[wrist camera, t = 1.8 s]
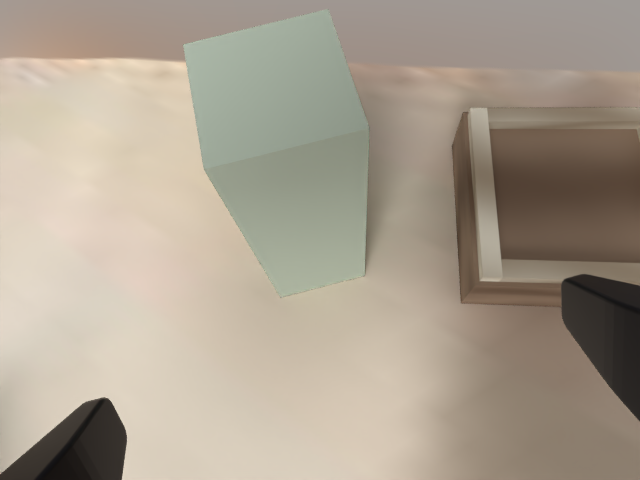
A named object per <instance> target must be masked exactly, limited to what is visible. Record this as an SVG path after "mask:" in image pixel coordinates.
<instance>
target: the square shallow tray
mask: <svg viewBox="0 0 640 480" xmlns="http://www.w3.org/2000/svg"><path fill="white" fill-rule="evenodd" d="M452 153H453V170H454V188H455V206H456V223H457V241H458V259H459V276H460V294H461V303H470V304H498V305H525V306H553V307H561V284H562V281H563V280H564V279H565V278H568V277H572V276H576V275H580V274H589V275H593V276H598V277H603V278H607V279H612V280H617V281H621V282H626V283H631V284H635V285H640V107H582V108H470V110H469V112H463V114H462V117H461V120H460V123H459V127H458V130H457V133H456V136H455V139H454V142H453V145H452Z"/></svg>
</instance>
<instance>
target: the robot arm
mask: <svg viewBox="0 0 640 480" xmlns="http://www.w3.org/2000/svg"><path fill="white" fill-rule="evenodd" d="M561 309H562V319H563V322H564V324H565V326H566V327H567V329H568V330H569V332H570V333H571V335H572V336H573V337H574V339H575V340H576V341H577V343H578V344H579V346H580V347H581V348H582V350H583V351H584V352H585V354H586V355H587V357H588V358H589V359H590V361H591V362H592V364H593V365H594V366H595V368H596V369H597V370H598V372H599V373H600V375H601V376H602V377H603V379H604V380H605V381H606V383H607V384H608V385H609V387H610V388H611V389H612V390H613V391H614V393H615V394H616V395H617V396H618V397H619V399H620V400H621V401H622V402H623V403H624V404H625V405H626V406H627V408H628V409H629V410H630V411H631V412H632V413H633V414H634V415H635V416H636V418H637V419H638V420H639V421H640V285H635V284H631V283H626V282H621V281H617V280H612V279H607V278H603V277H598V276H593V275H589V274H580V275H576V276H572V277H568V278H565V279H564V280H563V281H562V284H561ZM126 444H127V435H126V430H125V427H124V425H123V423H122V421H121V419H120V418H119V416H118V414H117V412H116V410H115V408H114V406H113V404H112V402H111V401H110V400H109V399H108V398H105V397H104V398H99V399H95V400H91V401H88V402H85V403H83V404H82V405H81V406H80V407H78V408H77V409H76V410H75V411H74V412H73V413H71V414H70V415H69V416H68V417H67V418H65V419H64V420H63V421H62V422H61V423H60V424H58V425H57V426H56V427H55V428H54V429H53V430H51V431H50V432H49V433H48V434H47V435H46V436H44V437H43V438H42V439H41V440H40V441H39V442H37V443H36V444H35V445H34V446H33V447H32V448H30V449H29V450H28V451H27V452H26V453H25V454H23V455H22V456H21V457H20V458H19V459H18V460H16V461H15V462H14V463H13V464H12V465H11V466H9V467H8V468H7V469H6V470H5V471H4V472H2V473H1V474H0V480H122V474H123V466H124V459H125V451H126Z"/></svg>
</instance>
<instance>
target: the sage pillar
mask: <svg viewBox="0 0 640 480" xmlns="http://www.w3.org/2000/svg"><path fill="white" fill-rule="evenodd" d="M183 46H184V52H185V59H186V65H187V71H188V77H189V83H190V89H191V95H192V101H193V107H194V113H195V119H196V125H197V131H198V137H199V143H200V149H201V155H202V161H203V167H204V170H205V172H206V174H207V175H208V177H209V179H210V181H211V182H212V184H213V186H214V187H215V189H216V191H217V192H218V194H219V196H220V197H221V199H222V201H223V202H224V204H225V206H226V207H227V209H228V211H229V212H230V214H231V216H232V217H233V219H234V221H235V222H236V224H237V226H238V227H239V229H240V231H241V232H242V234H243V236H244V237H245V239H246V241H247V242H248V244H249V246H250V247H251V249H252V251H253V252H254V254H255V256H256V257H257V259H258V261H259V262H260V264H261V266H262V268H263V269H264V271H265V273H266V274H267V276H268V278H269V279H270V281H271V283H272V284H273V286H274V288H275V289H276V291H277V293H278V294H279V296H280V298H281V297H285V296H289V295H292V294H296V293H300V292H304V291H308V290H312V289H316V288H320V287H324V286H327V285H331V284H335V283H339V282H343V281H347V280H351V279H355V278H359V277H362V276H365V250H366V220H367V190H368V160H369V130H370V128H369V125H368V122H367V119H366V116H365V113H364V110H363V108H362V105H361V102H360V99H359V96H358V93H357V90H356V87H355V84H354V81H353V79H352V76H351V73H350V70H349V67H348V64H347V61H346V59H345V56H344V53H343V50H342V47H341V44H340V42H339V38H338V35H337V32H336V29H335V26H334V24H333V21H332V18H331V15H330V12H329V9H326V10H322V11H318V12H313V13H310V14H306V15H301V16H297V17H293V18H289V19H285V20H281V21H277V22H273V23H269V24H265V25H261V26H257V27H252V28H248V29H244V30H240V31H236V32H232V33H228V34H224V35H220V36H216V37H212V38H208V39H204V40H199V41H196V42H192V43H188V44H183Z"/></svg>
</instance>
